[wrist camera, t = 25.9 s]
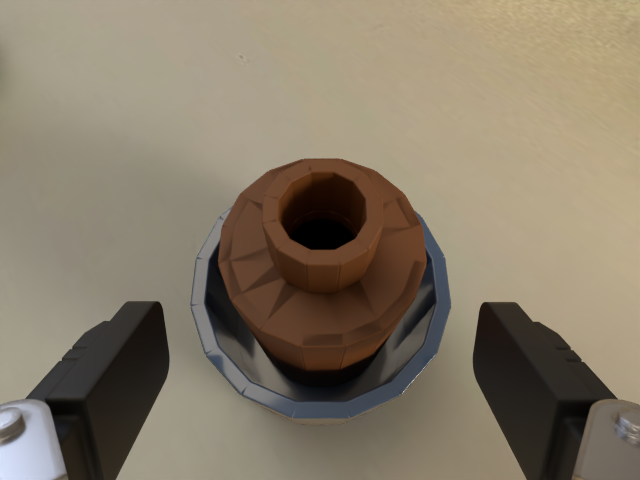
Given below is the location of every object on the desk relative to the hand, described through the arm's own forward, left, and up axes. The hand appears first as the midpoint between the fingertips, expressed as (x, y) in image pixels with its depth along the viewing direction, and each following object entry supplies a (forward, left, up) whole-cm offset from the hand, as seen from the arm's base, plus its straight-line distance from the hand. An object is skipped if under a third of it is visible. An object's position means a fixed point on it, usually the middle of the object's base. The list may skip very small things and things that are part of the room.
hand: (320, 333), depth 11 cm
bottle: (0, -2, -9) cm, 9 cm away
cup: (0, -2, -9) cm, 10 cm away
